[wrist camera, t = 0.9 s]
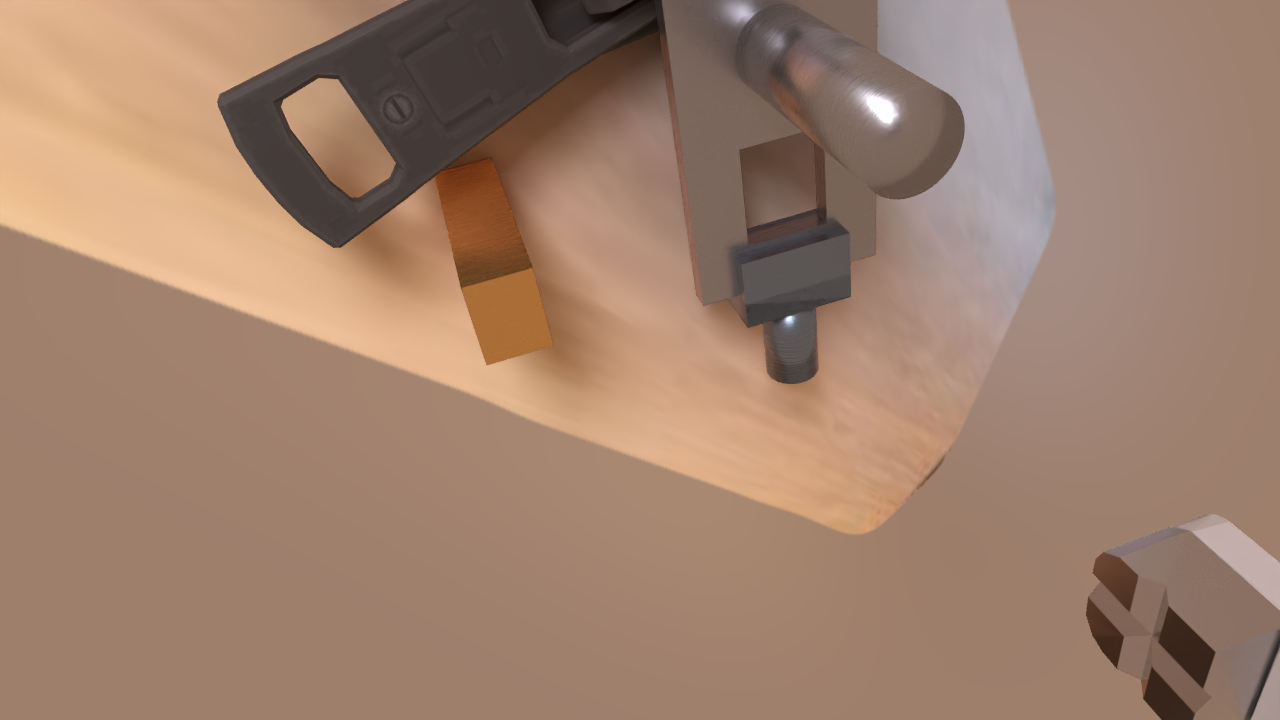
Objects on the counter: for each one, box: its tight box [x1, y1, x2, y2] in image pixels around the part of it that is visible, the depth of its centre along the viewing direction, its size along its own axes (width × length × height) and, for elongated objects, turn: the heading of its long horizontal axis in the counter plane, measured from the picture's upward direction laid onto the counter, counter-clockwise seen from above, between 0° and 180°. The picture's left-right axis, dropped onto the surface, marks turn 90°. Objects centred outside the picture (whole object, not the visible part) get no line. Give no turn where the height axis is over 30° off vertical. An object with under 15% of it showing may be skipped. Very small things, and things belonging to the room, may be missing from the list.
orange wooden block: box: [435, 158, 554, 365], centre depth 42 cm, size 4×3×12 cm
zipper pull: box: [217, 0, 659, 248], centre depth 39 cm, size 9×7×25 cm
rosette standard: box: [655, 0, 964, 384], centre depth 42 cm, size 23×10×18 cm, turn 9°
